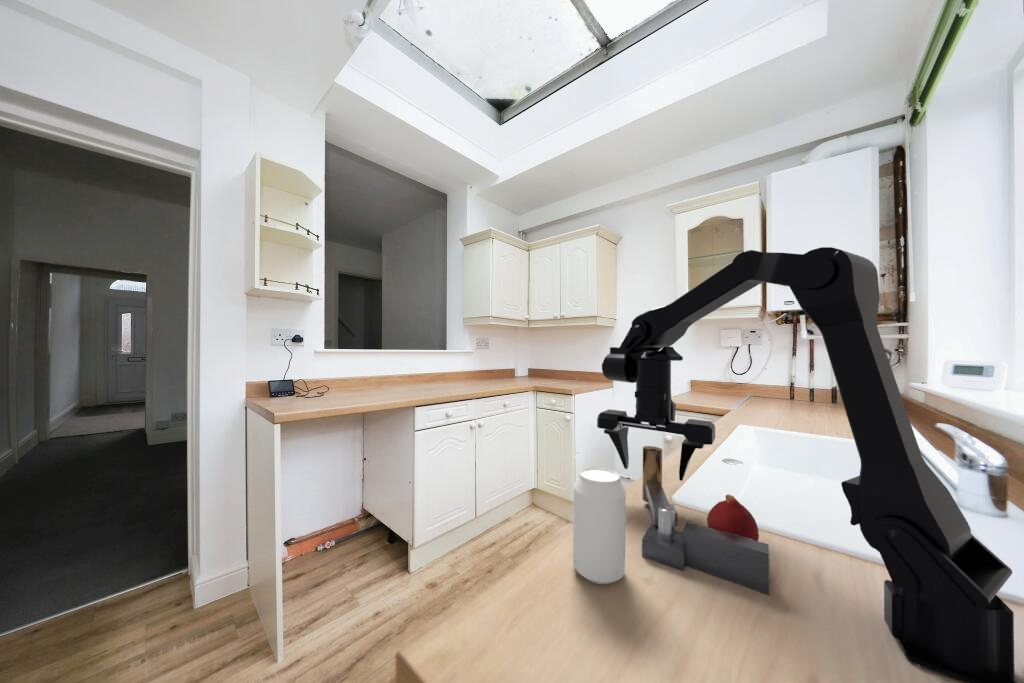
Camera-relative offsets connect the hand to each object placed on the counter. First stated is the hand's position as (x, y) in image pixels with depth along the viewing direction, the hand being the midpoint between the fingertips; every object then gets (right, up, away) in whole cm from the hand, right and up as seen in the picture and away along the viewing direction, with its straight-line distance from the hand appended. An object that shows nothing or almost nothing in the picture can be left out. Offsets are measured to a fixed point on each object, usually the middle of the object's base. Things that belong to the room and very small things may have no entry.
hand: (652, 473), depth 60 cm
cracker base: (-1, -5, -17) cm, 18 cm away
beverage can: (-14, -5, -18) cm, 24 cm away
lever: (-2, -4, -6) cm, 7 cm away
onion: (+5, -6, -14) cm, 16 cm away
